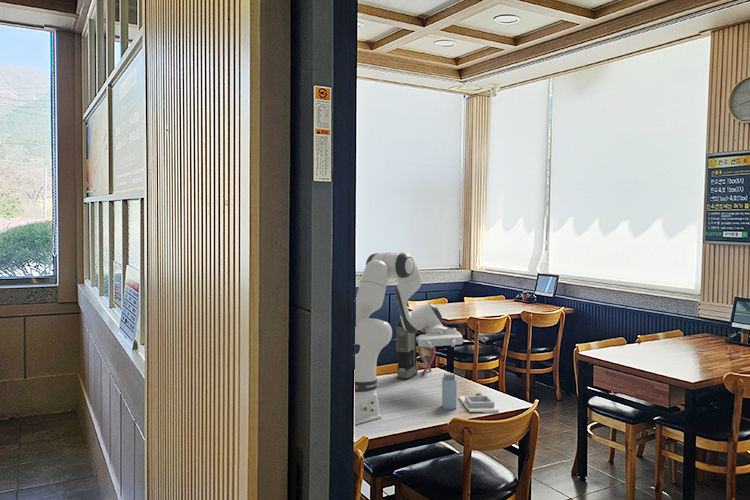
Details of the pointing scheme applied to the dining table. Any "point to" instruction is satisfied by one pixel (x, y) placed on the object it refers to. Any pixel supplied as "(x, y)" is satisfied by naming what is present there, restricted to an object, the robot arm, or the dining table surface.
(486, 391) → the dining table surface
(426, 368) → the dna model
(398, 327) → the device
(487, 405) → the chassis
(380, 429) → the dining table surface
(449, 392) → the blue-gray rectangular block
